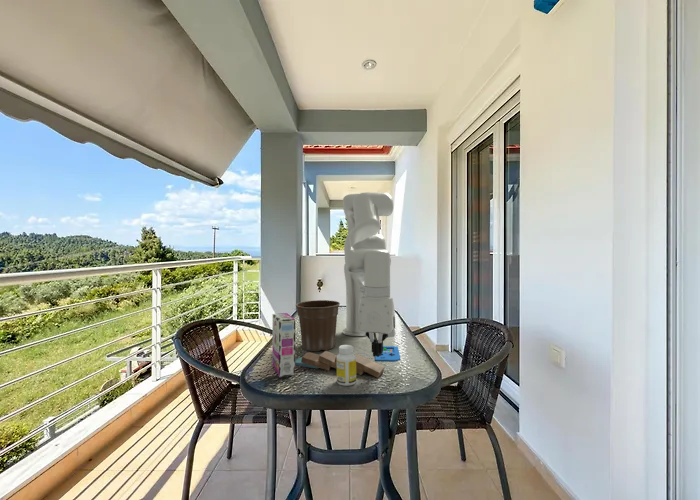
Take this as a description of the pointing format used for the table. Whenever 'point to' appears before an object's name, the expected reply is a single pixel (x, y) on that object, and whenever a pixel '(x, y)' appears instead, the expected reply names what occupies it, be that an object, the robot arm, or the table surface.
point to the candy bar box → (283, 344)
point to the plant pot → (318, 324)
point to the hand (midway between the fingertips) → (377, 355)
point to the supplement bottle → (346, 366)
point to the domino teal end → (299, 363)
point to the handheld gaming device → (389, 354)
